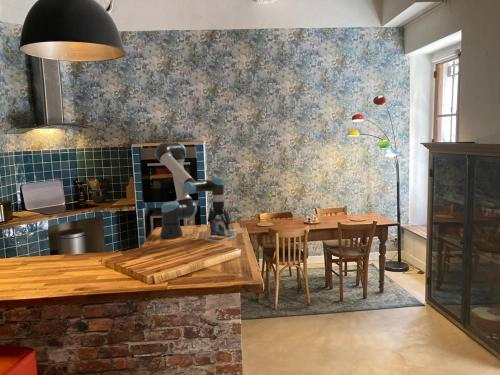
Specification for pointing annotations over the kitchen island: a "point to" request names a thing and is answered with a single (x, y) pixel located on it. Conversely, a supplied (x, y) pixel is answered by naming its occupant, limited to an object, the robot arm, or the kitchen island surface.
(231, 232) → the die
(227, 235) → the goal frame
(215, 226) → the small box
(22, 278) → the kitchen island surface
